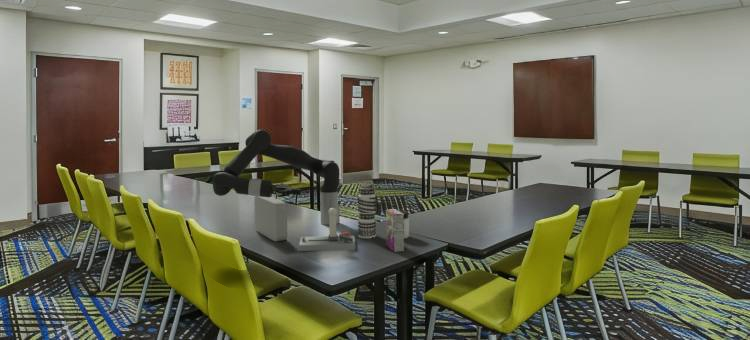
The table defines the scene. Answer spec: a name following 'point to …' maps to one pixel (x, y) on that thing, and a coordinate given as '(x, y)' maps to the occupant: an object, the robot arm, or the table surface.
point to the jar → (405, 223)
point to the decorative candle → (366, 211)
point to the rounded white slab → (271, 218)
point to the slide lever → (332, 224)
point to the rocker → (345, 237)
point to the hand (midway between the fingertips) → (300, 191)
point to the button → (346, 233)
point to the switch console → (325, 244)
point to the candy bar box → (395, 230)
